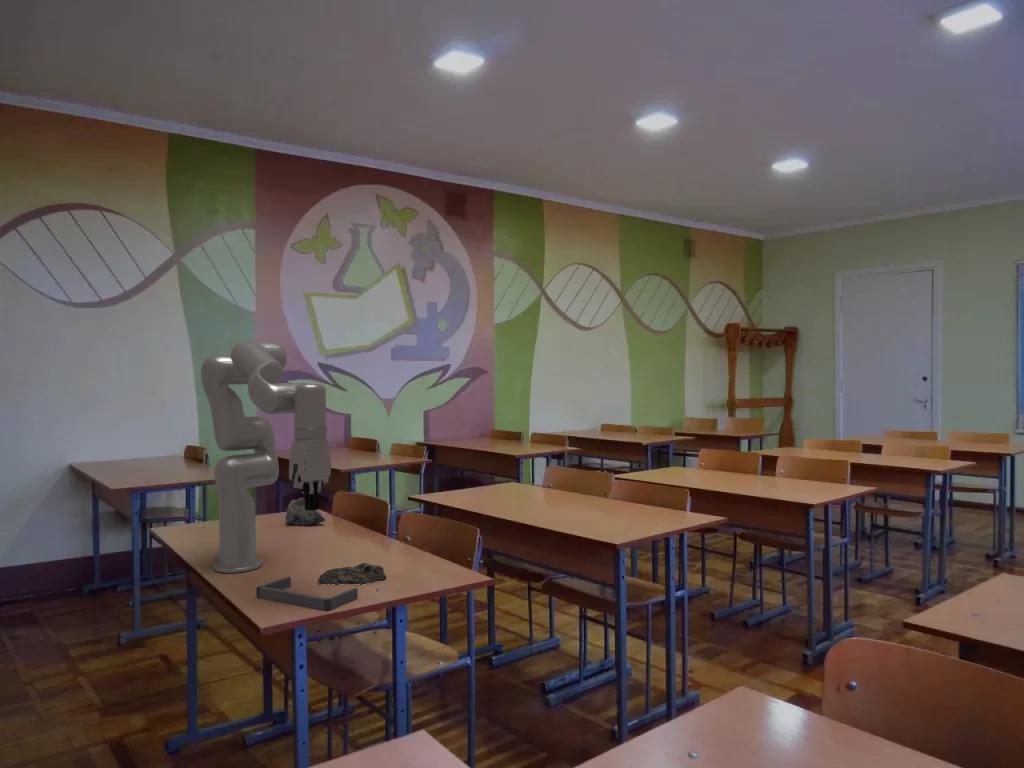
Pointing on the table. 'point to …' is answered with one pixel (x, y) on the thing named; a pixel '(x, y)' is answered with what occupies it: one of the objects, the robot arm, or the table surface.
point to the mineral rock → (301, 514)
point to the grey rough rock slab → (353, 575)
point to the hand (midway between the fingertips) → (312, 509)
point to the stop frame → (303, 596)
